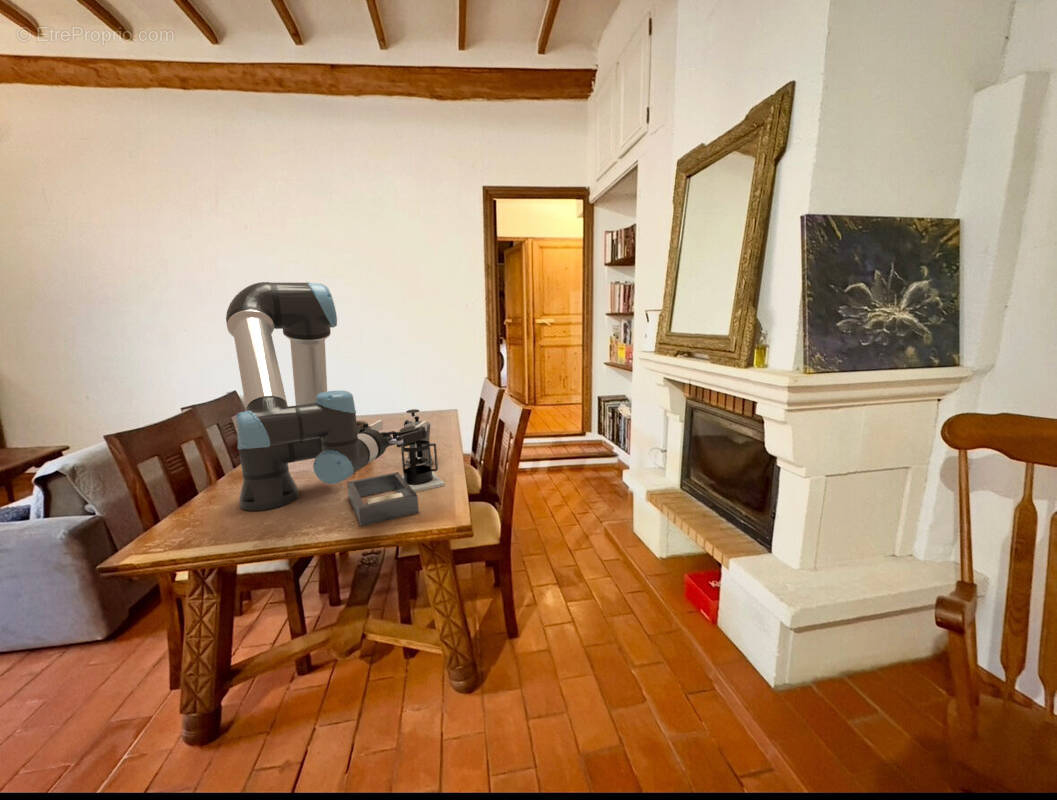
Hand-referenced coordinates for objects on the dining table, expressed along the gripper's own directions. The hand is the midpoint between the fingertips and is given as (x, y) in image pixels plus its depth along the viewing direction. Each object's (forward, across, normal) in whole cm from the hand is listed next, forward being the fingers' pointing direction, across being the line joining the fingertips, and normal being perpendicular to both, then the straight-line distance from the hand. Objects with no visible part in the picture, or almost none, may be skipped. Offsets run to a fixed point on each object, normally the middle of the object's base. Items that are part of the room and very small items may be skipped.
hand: (403, 425), depth 128 cm
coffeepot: (+28, -9, -22) cm, 37 cm away
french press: (+10, 0, -21) cm, 23 cm away
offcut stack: (-14, 0, -21) cm, 25 cm away
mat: (+10, 0, -22) cm, 24 cm away
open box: (-8, -4, -22) cm, 23 cm away
